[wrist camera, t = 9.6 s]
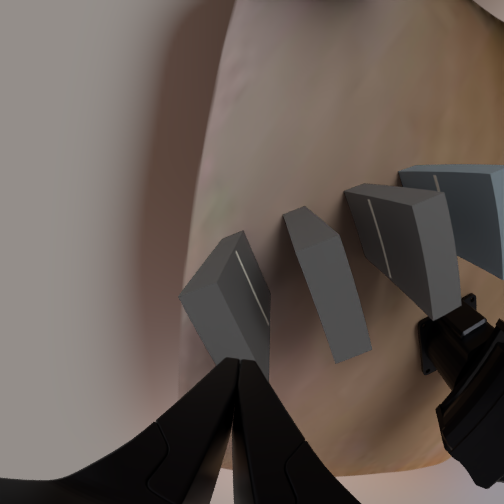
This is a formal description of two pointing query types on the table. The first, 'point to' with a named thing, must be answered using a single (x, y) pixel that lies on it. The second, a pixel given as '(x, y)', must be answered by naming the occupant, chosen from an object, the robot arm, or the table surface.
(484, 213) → the domino
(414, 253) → the domino
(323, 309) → the domino
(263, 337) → the domino
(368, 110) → the table surface
